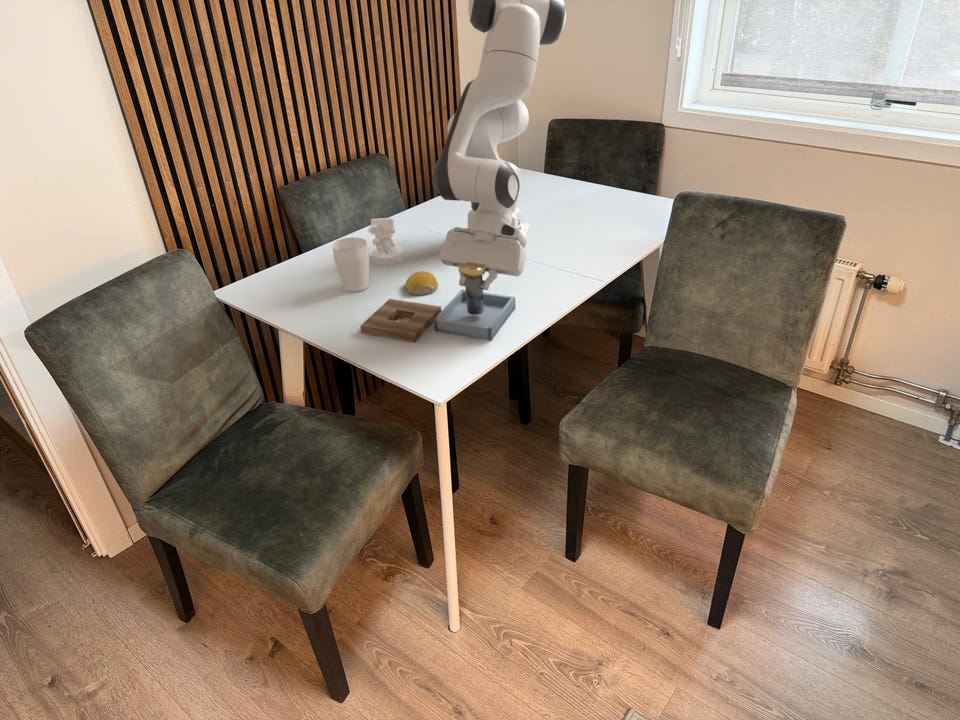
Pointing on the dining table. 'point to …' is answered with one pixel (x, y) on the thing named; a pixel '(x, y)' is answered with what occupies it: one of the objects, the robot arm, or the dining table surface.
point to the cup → (352, 263)
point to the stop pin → (473, 287)
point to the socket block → (406, 331)
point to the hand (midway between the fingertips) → (473, 287)
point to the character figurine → (384, 242)
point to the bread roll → (421, 283)
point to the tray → (475, 316)
